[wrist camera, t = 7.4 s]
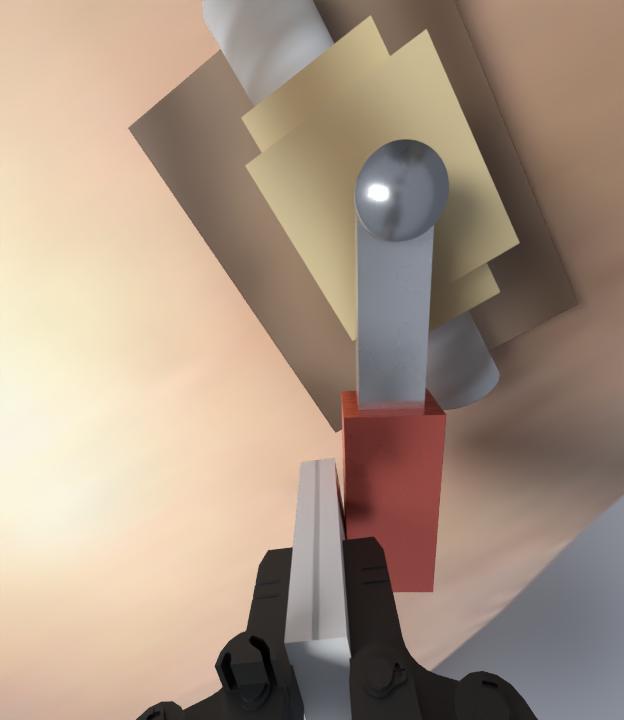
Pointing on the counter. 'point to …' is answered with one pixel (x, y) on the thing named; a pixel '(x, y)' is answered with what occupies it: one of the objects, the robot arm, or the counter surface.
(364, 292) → the lever
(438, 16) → the valve board
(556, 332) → the counter surface
